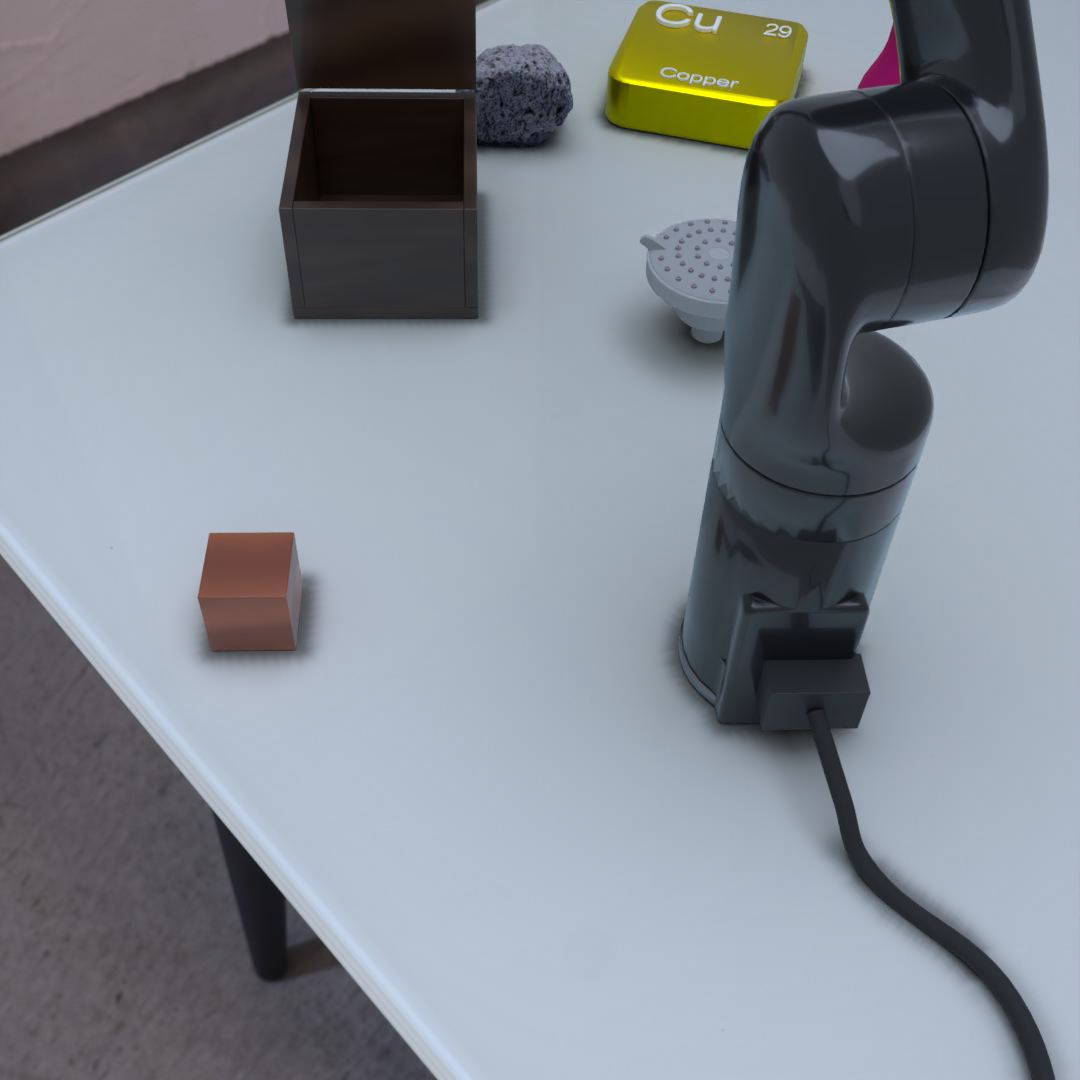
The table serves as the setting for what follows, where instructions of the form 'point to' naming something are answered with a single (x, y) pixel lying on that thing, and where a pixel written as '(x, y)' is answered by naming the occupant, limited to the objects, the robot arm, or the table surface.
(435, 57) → the lid
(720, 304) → the showerhead
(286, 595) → the block
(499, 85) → the pumice stone
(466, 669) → the table surface
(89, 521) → the table surface
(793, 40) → the element tile
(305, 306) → the chest
